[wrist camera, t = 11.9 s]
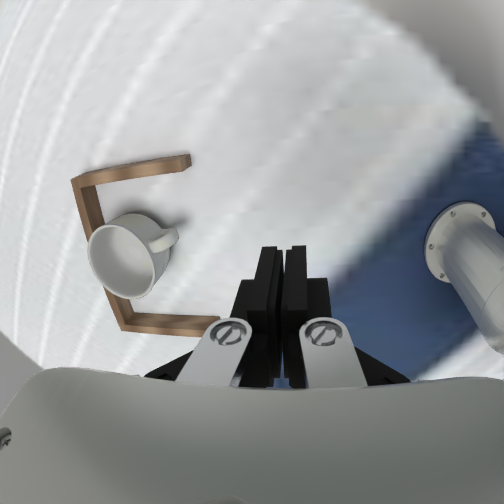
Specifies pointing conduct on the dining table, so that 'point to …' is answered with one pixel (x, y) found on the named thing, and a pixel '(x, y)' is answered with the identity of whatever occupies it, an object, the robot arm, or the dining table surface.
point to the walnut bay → (94, 220)
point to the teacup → (130, 254)
